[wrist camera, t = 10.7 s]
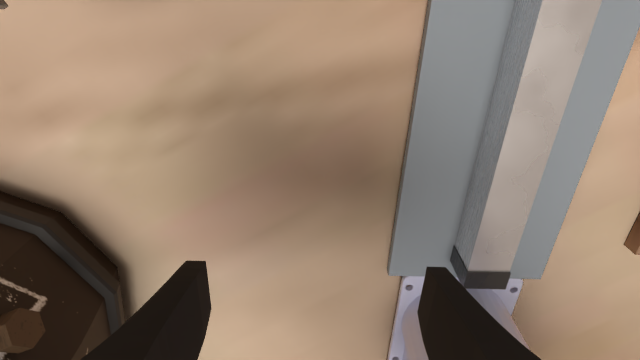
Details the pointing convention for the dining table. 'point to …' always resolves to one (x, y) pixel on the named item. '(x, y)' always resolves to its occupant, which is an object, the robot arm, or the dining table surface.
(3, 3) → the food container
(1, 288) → the barrel
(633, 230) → the wooden stand
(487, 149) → the steel rail
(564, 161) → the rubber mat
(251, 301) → the dining table surface
